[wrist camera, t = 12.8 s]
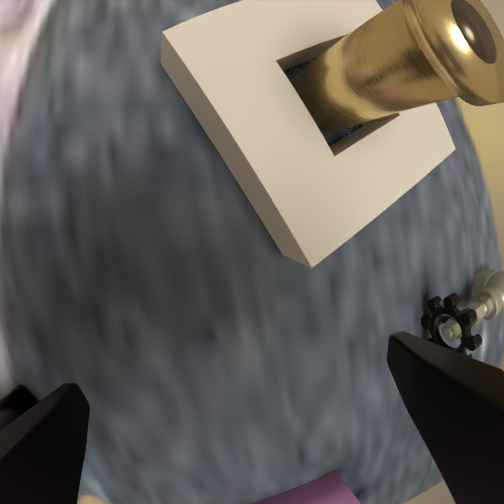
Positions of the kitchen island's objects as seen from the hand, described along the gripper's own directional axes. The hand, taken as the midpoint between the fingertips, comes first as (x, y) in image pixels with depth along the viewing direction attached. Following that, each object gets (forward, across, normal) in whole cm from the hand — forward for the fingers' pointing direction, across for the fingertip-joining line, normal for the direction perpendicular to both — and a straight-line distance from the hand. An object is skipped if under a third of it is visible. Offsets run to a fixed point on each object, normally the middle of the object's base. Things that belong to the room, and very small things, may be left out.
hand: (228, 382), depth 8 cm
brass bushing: (+14, -7, -8) cm, 17 cm away
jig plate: (+14, -7, -8) cm, 17 cm away
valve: (+15, -21, +10) cm, 28 cm away
